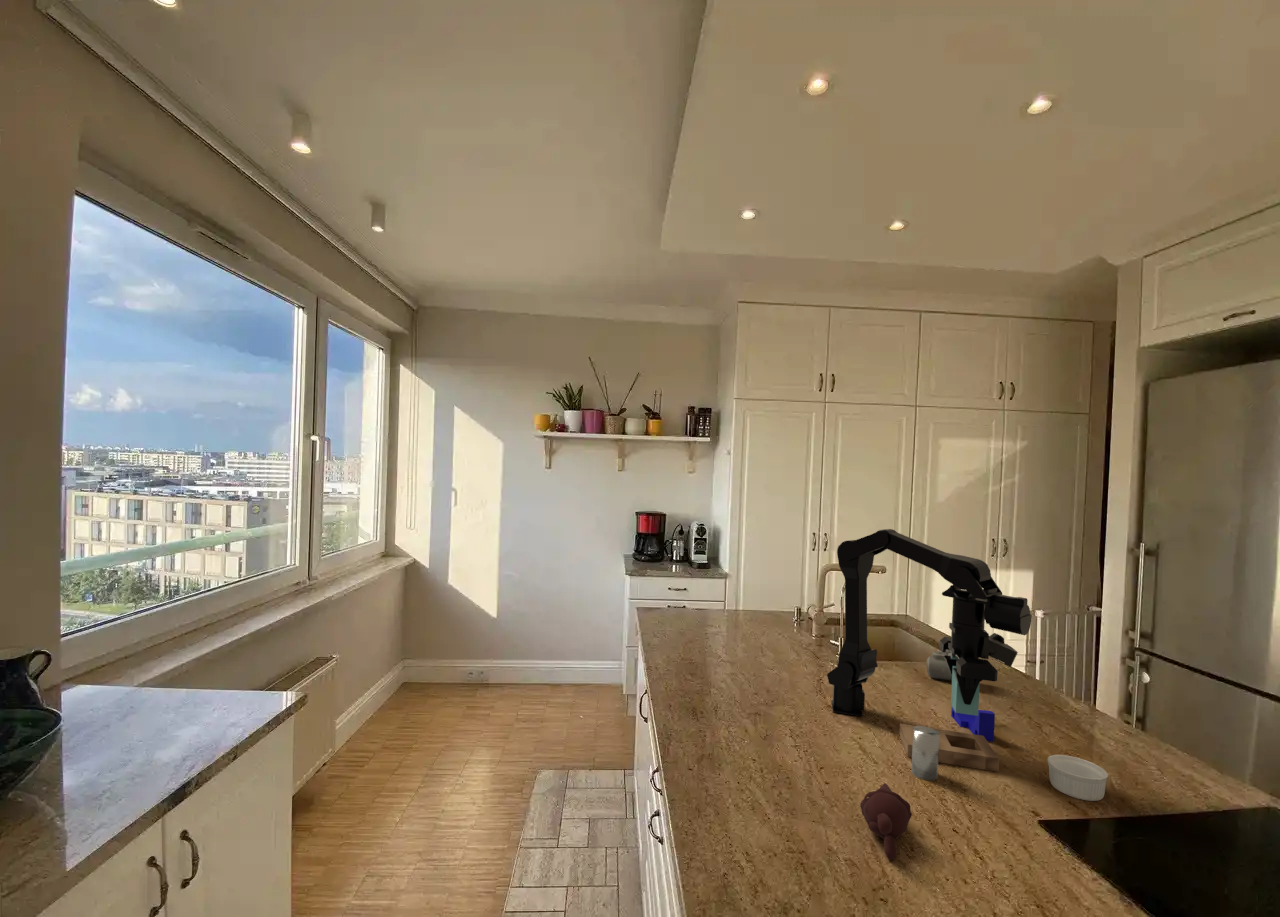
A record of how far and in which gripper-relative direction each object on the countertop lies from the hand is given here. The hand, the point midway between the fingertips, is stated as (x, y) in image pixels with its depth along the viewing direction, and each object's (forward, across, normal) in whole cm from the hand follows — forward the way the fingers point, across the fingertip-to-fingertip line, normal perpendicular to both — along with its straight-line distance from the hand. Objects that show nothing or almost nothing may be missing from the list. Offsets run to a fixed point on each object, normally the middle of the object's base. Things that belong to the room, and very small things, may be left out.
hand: (964, 700), depth 120 cm
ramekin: (+11, -7, -17) cm, 22 cm away
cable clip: (+11, +15, -5) cm, 20 cm away
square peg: (+2, 0, 0) cm, 2 cm away
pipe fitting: (+11, +46, -8) cm, 48 cm away
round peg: (+11, -11, +9) cm, 18 cm away
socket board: (+11, 0, +3) cm, 11 cm away
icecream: (+11, -33, +19) cm, 40 cm away
